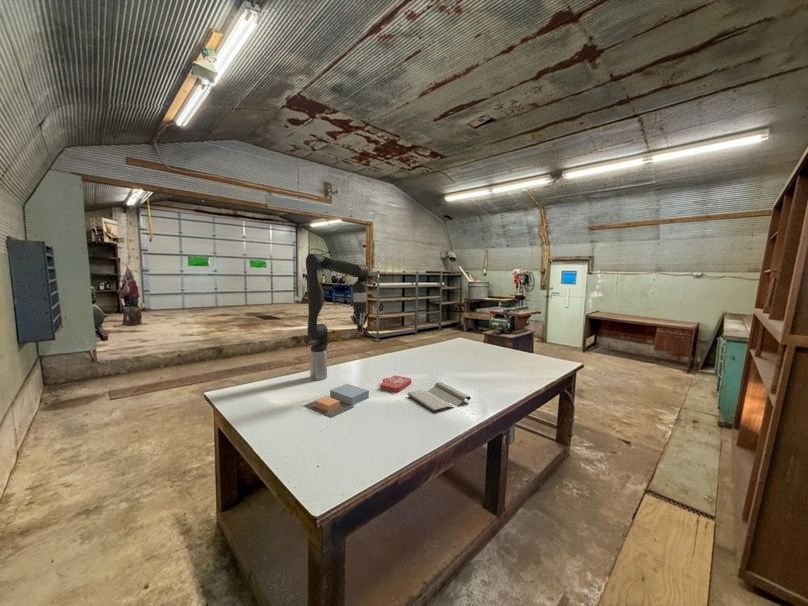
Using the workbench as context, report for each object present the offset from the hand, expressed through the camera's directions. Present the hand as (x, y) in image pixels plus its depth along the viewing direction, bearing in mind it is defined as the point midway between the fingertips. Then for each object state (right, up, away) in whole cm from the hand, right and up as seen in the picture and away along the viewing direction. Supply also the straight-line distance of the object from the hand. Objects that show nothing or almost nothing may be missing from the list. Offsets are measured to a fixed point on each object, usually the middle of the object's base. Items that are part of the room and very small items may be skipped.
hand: (359, 331), depth 177 cm
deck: (-4, -33, -13) cm, 36 cm away
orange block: (-12, -31, -25) cm, 42 cm away
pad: (-12, -34, -24) cm, 43 cm away
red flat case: (+19, -33, +5) cm, 38 cm away
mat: (+42, -35, -14) cm, 57 cm away
